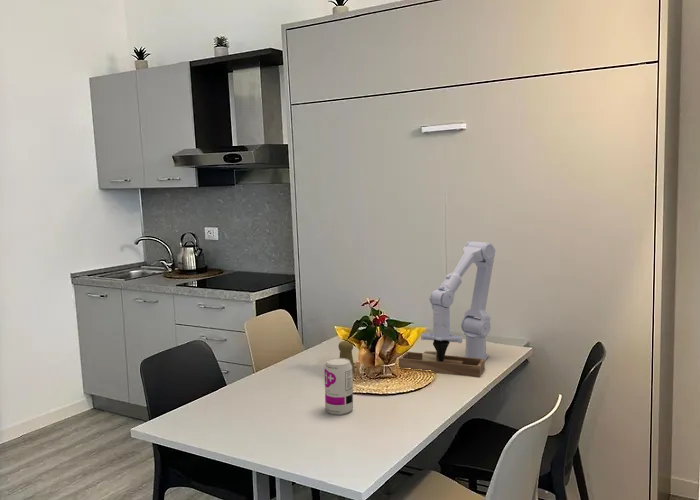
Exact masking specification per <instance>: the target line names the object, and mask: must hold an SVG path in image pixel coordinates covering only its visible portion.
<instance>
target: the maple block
mask: <svg viewBox="0 0 700 500" xmlns="http://www.w3.org/2000/svg"><path fill="white" fill-rule="evenodd" d="M422 353H423V354H422V360H425V361H435V362H438V361H439V358H438V354H437V351H436V350H425V351H424V352H422Z"/></svg>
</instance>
